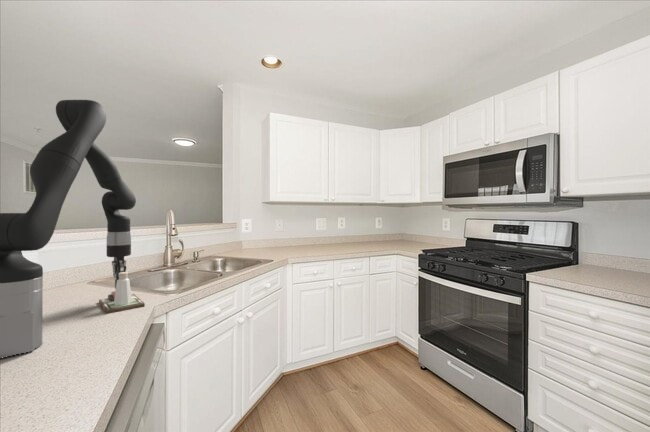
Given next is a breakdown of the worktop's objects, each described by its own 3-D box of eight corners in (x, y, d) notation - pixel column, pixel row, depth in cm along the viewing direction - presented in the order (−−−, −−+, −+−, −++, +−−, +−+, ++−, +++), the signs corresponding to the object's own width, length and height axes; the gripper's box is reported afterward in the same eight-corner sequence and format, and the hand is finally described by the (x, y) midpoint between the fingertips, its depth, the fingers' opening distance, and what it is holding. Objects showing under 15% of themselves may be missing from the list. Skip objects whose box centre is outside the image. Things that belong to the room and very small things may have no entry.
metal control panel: (144, 306, 101) (144, 299, 101) (106, 313, 93) (106, 306, 93) (133, 296, 112) (133, 290, 112) (99, 302, 105) (99, 295, 105)
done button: (126, 295, 106) (126, 291, 106) (113, 298, 103) (113, 293, 103) (124, 293, 109) (124, 289, 109) (111, 295, 106) (111, 291, 106)
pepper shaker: (110, 304, 99) (110, 273, 99) (125, 300, 104) (126, 270, 104) (119, 306, 97) (120, 274, 97) (135, 301, 102) (135, 271, 102)
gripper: (134, 244, 104) (134, 290, 104) (127, 241, 113) (127, 284, 113) (109, 245, 99) (109, 294, 99) (103, 242, 108) (103, 287, 108)
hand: (118, 288), depth 106 cm, fingers closed
